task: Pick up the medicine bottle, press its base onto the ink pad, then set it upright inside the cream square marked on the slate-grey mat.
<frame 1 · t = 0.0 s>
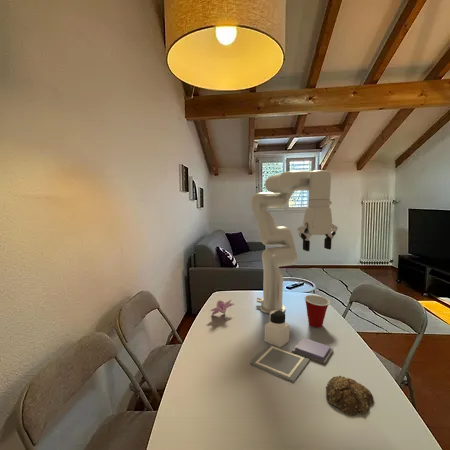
hand: (317, 249, 105), 37 cm above the table, tool pointing down, fingers open, 9 cm apart
lily: (222, 317, 132), on the table
marked mat: (279, 362, 97), on the table
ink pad: (312, 351, 103), on the table
plastic cup: (316, 325, 125), on the table
medicine bottle: (276, 341, 111), on the table
bread roll: (347, 399, 80), on the table
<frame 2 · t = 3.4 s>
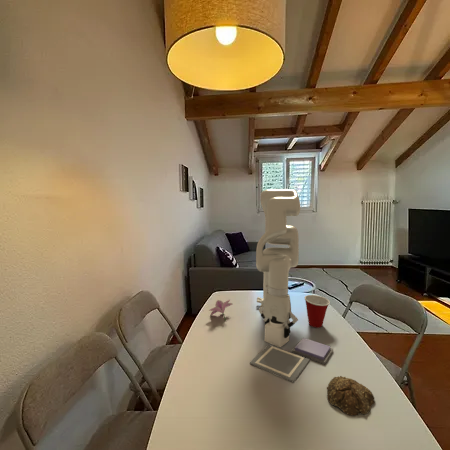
hand: (277, 333, 110), 3 cm above the table, tool pointing down, fingers closed on medicine bottle, 7 cm apart
medicine bottle: (276, 341, 111), on the table, touching gripper
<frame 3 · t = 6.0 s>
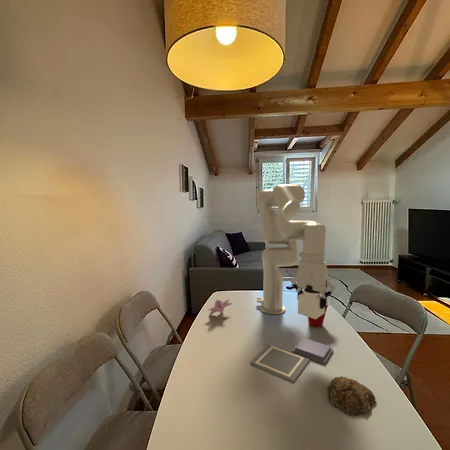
hand: (311, 304, 102), 18 cm above the table, tool pointing down, fingers closed on medicine bottle, 7 cm apart
medicine bottle: (311, 314, 102), point 15 cm above the table, touching gripper
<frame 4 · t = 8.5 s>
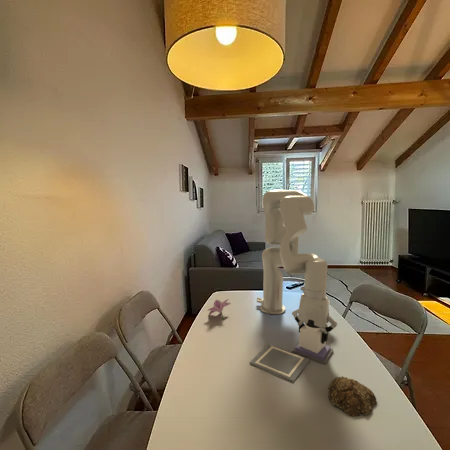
hand: (312, 338, 103), 5 cm above the table, tool pointing down, fingers closed on medicine bottle, 7 cm apart
medicine bottle: (312, 346, 103), point 2 cm above the table, touching gripper
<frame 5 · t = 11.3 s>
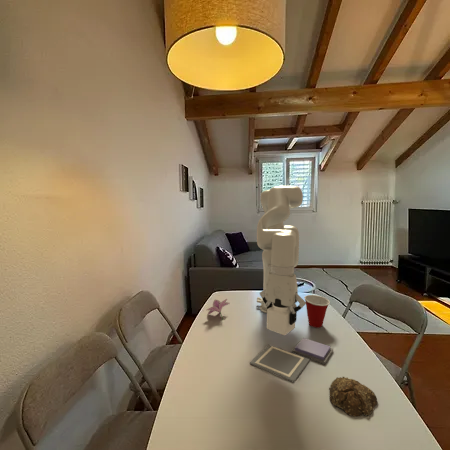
hand: (281, 319, 95), 16 cm above the table, tool pointing down, fingers closed on medicine bottle, 7 cm apart
medicine bottle: (280, 329, 96), point 12 cm above the table, touching gripper
when the fingers open (5 cm above the table, at t = 13.6 s): medicine bottle drops 1 cm, resting on marked mat.
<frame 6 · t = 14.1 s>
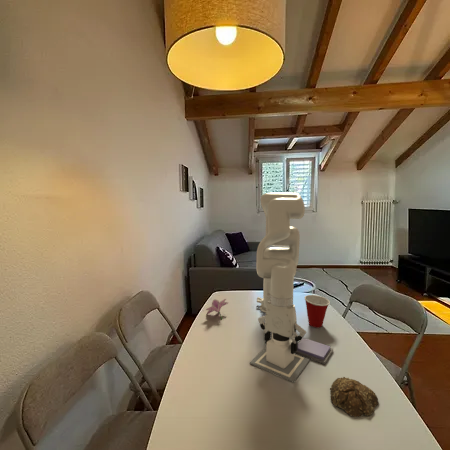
hand: (280, 347, 96), 6 cm above the table, tool pointing down, fingers open, 9 cm apart
medicine bottle: (280, 360, 97), resting on marked mat
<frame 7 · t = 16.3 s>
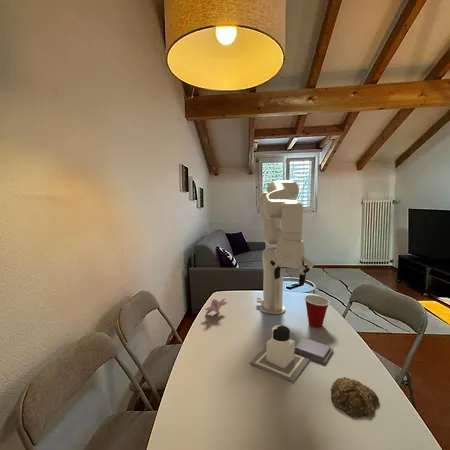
hand: (289, 281, 104), 26 cm above the table, tool pointing down, fingers open, 9 cm apart
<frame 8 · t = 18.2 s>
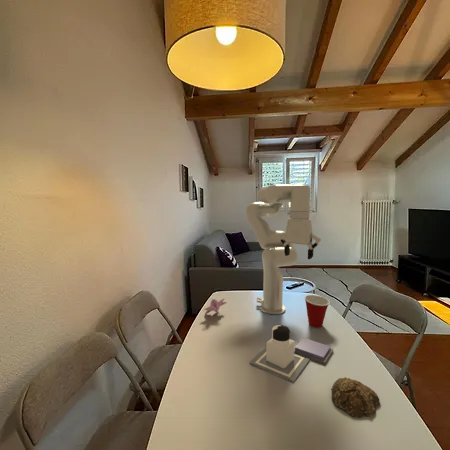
hand: (298, 256, 115), 32 cm above the table, tool pointing down, fingers open, 9 cm apart
at the end: medicine bottle 0.2 cm off-centre on the marked mat, point 0.4 cm above the marked mat's base; medicine bottle tilted 0°; the gripper is holding nothing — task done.
